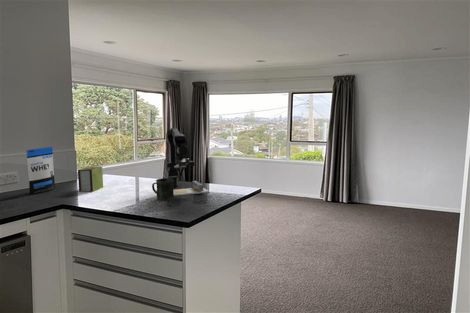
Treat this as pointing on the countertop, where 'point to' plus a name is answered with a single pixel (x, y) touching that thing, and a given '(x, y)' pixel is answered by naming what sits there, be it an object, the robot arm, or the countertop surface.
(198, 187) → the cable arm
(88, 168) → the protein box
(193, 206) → the countertop surface
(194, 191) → the label panel
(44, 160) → the protein powder
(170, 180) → the mug
